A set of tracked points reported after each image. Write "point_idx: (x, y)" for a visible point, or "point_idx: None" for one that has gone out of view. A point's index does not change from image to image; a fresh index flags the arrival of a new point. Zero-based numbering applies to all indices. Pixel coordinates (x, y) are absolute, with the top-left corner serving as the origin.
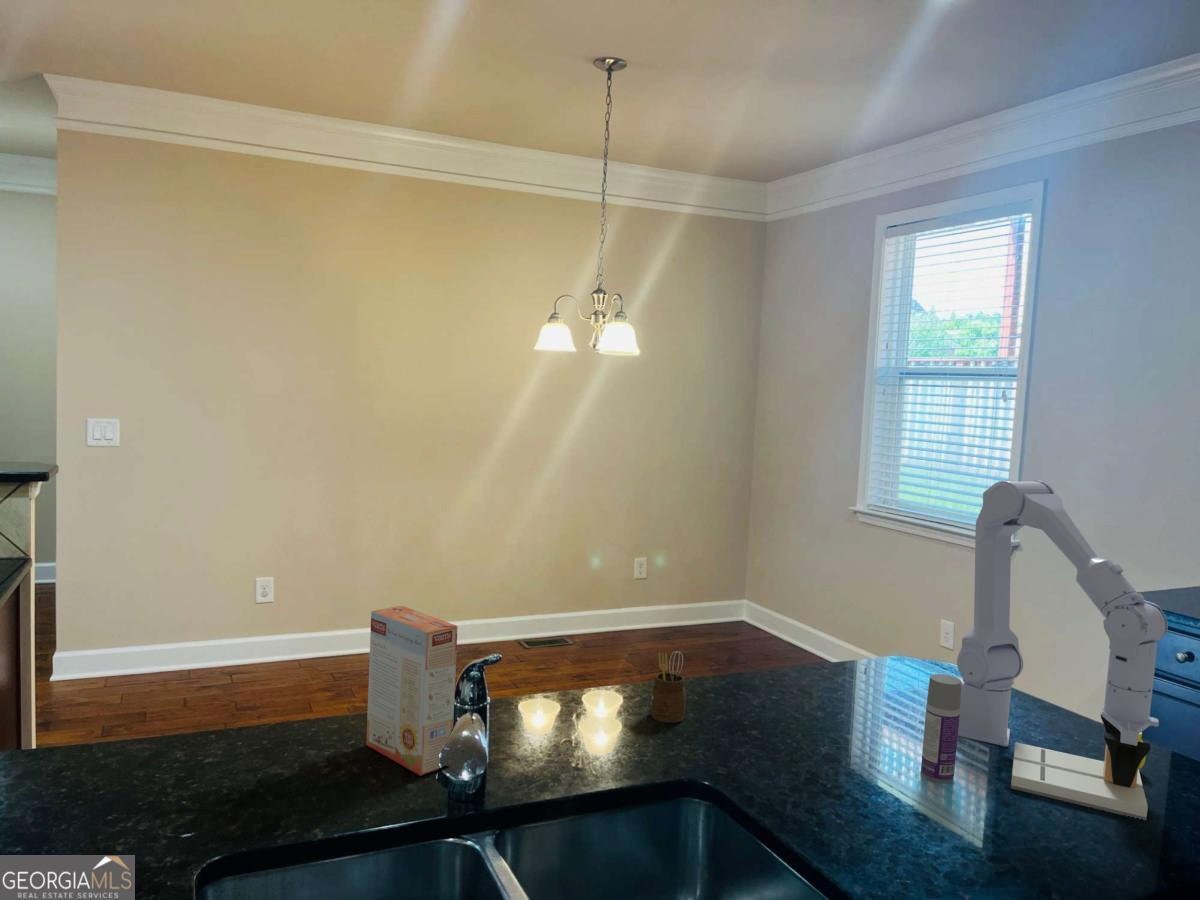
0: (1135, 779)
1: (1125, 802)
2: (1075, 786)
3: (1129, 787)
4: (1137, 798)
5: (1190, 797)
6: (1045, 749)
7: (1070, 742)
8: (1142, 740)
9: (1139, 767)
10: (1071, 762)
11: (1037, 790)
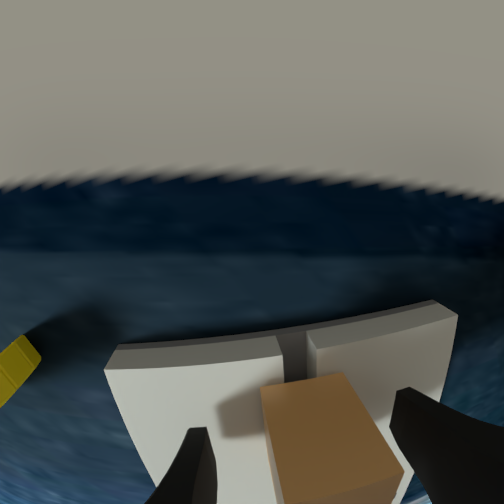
0: (352, 393)
1: (447, 366)
2: (401, 460)
3: (410, 387)
4: (415, 349)
5: (121, 174)
6: None
7: (16, 453)
8: None
9: (29, 342)
10: (234, 502)
11: None
